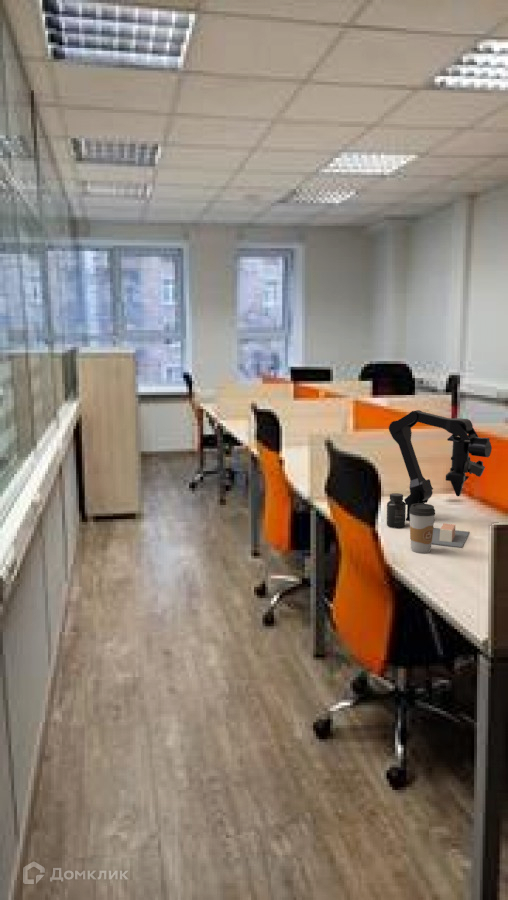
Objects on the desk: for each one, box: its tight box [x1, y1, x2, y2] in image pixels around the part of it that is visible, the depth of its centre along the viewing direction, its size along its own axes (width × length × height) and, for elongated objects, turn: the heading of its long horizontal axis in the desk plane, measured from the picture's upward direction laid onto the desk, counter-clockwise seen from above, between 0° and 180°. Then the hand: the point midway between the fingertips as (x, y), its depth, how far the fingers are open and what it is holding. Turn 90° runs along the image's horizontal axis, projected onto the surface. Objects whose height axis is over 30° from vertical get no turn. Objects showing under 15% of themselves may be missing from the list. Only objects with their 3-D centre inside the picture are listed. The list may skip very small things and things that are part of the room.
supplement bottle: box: [386, 492, 407, 529], centre depth 249 cm, size 7×7×12 cm
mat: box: [431, 527, 470, 549], centre depth 236 cm, size 13×19×1 cm
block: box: [440, 523, 456, 542], centre depth 234 cm, size 4×4×8 cm
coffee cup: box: [409, 503, 436, 554], centre depth 221 cm, size 8×8×15 cm
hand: (458, 496), depth 246 cm, fingers closed
